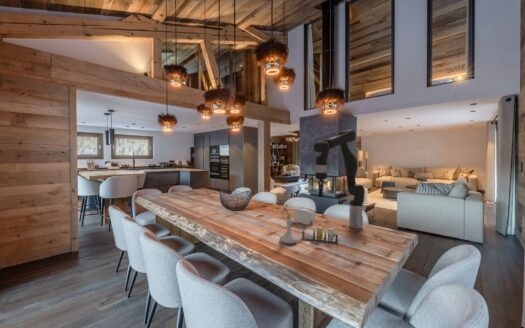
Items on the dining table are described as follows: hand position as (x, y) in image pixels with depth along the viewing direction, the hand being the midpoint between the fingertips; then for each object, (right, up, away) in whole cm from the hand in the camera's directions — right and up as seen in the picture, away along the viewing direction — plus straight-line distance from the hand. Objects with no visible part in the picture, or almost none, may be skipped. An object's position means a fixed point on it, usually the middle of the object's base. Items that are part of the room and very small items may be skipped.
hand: (320, 195), depth 153 cm
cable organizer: (-5, -27, +34) cm, 43 cm away
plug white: (+5, -27, -6) cm, 28 cm away
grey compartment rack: (-2, -28, -5) cm, 29 cm away
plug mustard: (-2, -27, -5) cm, 27 cm away
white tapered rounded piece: (-23, -28, -9) cm, 37 cm away
